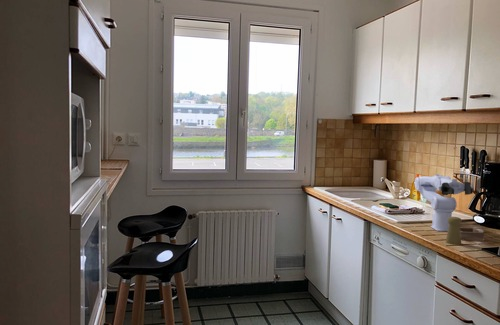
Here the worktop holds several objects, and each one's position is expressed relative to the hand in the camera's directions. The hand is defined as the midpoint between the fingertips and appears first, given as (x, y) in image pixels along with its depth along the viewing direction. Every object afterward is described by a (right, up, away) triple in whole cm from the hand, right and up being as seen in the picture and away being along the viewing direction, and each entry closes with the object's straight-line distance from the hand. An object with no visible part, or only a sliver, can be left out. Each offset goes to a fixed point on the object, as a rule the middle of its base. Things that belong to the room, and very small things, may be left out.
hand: (462, 191), depth 183 cm
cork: (-5, -22, -3) cm, 22 cm away
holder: (+5, -21, +6) cm, 22 cm away
